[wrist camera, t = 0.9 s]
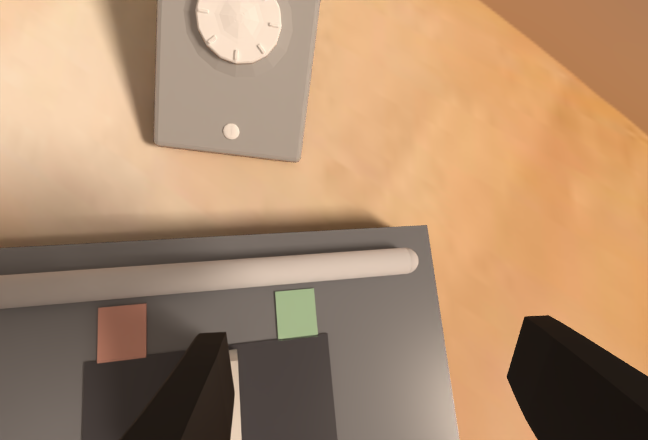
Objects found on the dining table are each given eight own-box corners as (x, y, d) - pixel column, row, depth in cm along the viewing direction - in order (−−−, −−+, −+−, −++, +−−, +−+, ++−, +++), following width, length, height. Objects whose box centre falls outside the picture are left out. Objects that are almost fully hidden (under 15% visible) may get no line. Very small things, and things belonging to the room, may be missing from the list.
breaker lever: (242, 465, 17) (244, 511, 13) (195, 474, 17) (184, 525, 13) (236, 349, 18) (237, 360, 14) (192, 354, 18) (181, 367, 14)
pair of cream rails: (447, 517, 19) (463, 533, 17) (-86, 657, 14) (-120, 695, 12) (409, 248, 21) (421, 245, 20) (-49, 280, 16) (-74, 278, 15)
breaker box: (443, 510, 22) (476, 542, 19) (-71, 642, 16) (-140, 718, 13) (404, 234, 25) (427, 224, 22) (-35, 260, 19) (-85, 252, 16)
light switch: (148, 147, 21) (155, -179, 17) (169, 139, 26) (178, -109, 23) (302, 165, 23) (339, -126, 19) (292, 154, 28) (319, -73, 24)
